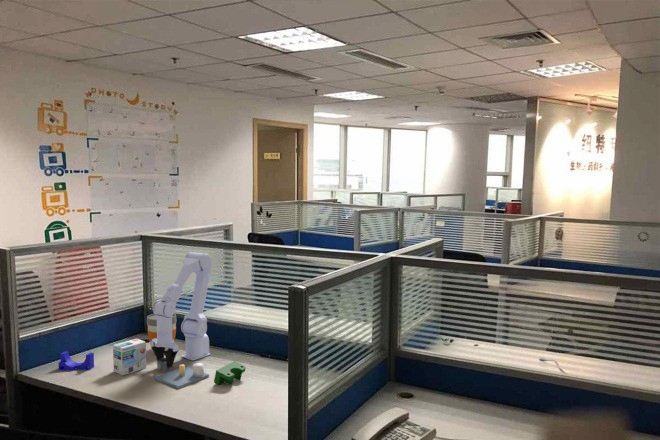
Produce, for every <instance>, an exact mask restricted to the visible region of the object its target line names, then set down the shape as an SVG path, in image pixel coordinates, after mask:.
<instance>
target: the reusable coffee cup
mask: <svg viewBox="0 0 660 440" xmlns="http://www.w3.org/2000/svg"><path fill="white" fill-rule="evenodd" d="M177 322H178V321H177V314H176V313H174V314H173V315H172V341H173V342H174V341H175V339H176V332H177V326H176V325H177ZM146 324H147V329H146V331H147V336H148V341H149V343H150V349H151V352H153V350H152V347H153V346H155V344H154V345H153V344H152V339H155V338H156V339H157V320H156V316H155V314H154V313H151V314H149V315H147V316H146ZM174 343H175V342H174ZM166 350H168V349H167V348H165V351H166ZM153 353H154V352H153Z"/></svg>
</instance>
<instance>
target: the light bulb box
mask: <svg viewBox="0 0 660 440" xmlns="http://www.w3.org/2000/svg"><path fill="white" fill-rule="evenodd" d="M112 346H113V347H112V349H113V350H112V351H113V352H112V353H113V354H112V355H113V356H112V357H113V358H112V359H113V372H115V373H116V374H118V375H121V376H124V375H128V374H131V373H134V372H137V371H141V370H145V369H147V342H146V341H145V340H141V339H140V338H134V339H130V340H127V341H123V342H119V343H116V344H113V345H112Z"/></svg>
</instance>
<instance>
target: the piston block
mask: <svg viewBox="0 0 660 440" xmlns="http://www.w3.org/2000/svg"><path fill="white" fill-rule="evenodd" d="M204 366H205V365H204V363H203V362H202V363H201V362H196V363H193V364H192V368H191V367H189V366H186V365H185V364H179V366H178V368H176V369H172V370H169V371H166V372H164V373H162V374H159V375H157V376H154V380H155V381H158V382H160V383H163V384H166V385H168V386H170V387H172V388H176V389H177V390H179V389H182V388H185V387H186V386H187V387H188V386H190V385H192V384H194V383H197V382H199V381H200V382H201V381H202V380H205V379H207V378H209V377H210V374H209V373H206V372H204V369H205V367H204Z"/></svg>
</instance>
